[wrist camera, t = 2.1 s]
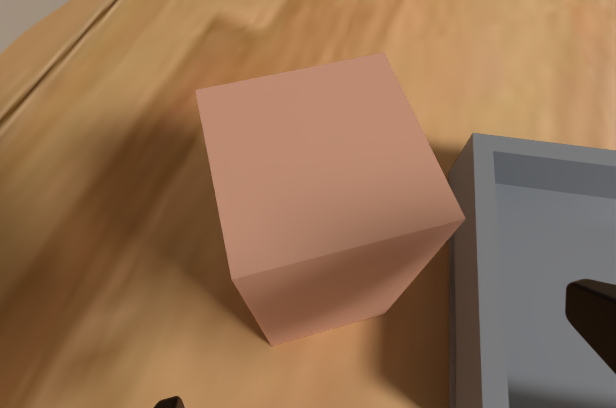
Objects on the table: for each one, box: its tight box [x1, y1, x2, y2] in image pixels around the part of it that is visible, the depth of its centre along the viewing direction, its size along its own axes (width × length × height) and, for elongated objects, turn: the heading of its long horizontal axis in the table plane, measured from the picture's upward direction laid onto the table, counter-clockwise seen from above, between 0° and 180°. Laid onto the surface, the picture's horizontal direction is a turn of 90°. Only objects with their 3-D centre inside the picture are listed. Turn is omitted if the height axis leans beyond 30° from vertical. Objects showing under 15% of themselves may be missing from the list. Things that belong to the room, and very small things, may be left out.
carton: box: [195, 53, 466, 346], centre depth 16 cm, size 6×6×12 cm
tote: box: [449, 133, 616, 408], centre depth 19 cm, size 14×14×4 cm
